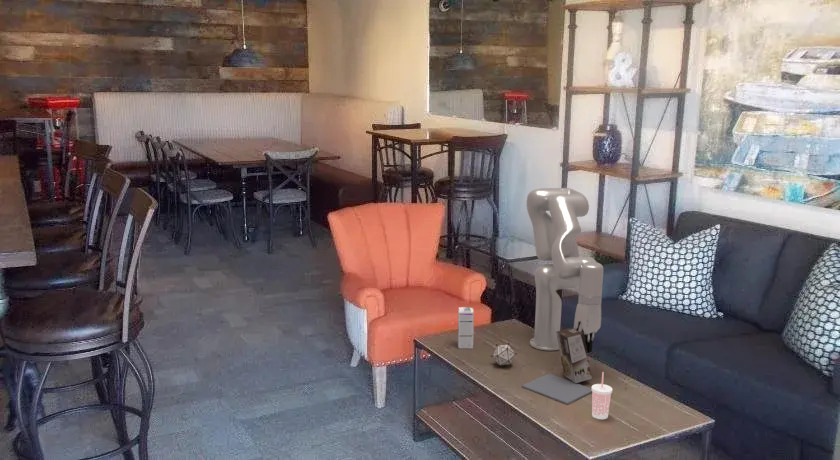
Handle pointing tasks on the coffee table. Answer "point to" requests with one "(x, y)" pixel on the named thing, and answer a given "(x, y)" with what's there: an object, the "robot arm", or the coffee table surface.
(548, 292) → the robot arm
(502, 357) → the game die
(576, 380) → the coffee box
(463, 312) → the syrup box
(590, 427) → the coffee table surface
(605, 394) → the beverage cup
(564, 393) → the mat
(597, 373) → the coffee table surface
